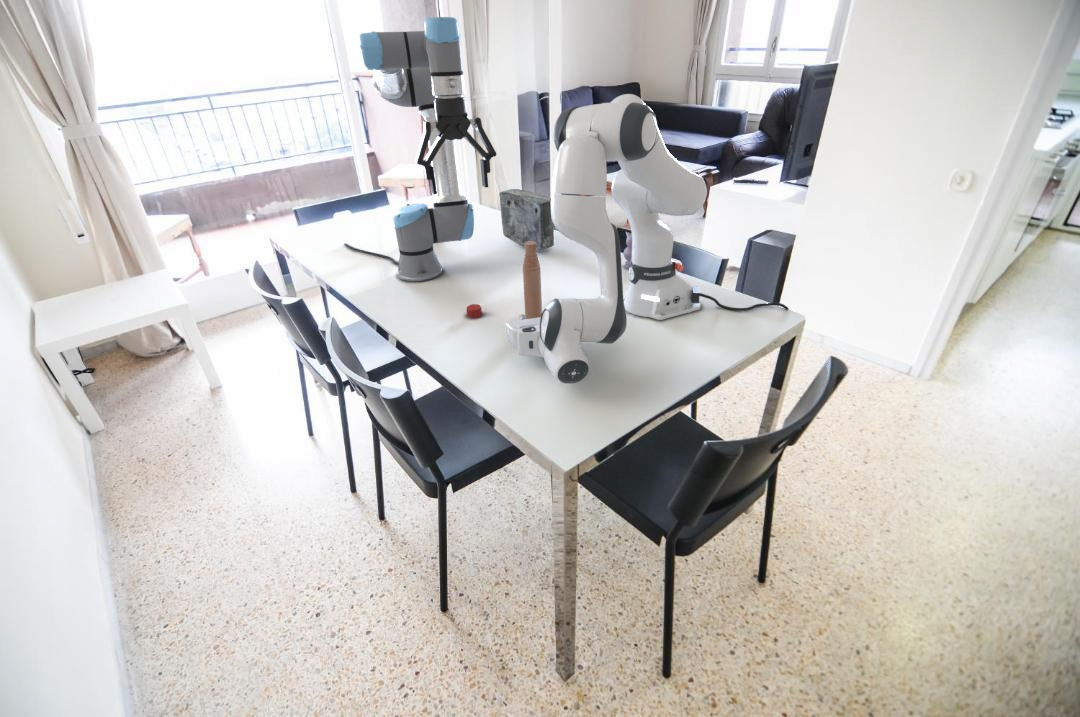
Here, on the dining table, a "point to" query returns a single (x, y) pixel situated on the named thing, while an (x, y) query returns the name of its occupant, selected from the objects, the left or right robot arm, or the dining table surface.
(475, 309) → the cap
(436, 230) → the left robot arm
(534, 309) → the bottle
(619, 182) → the right robot arm
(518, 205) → the concrete block
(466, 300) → the dining table surface
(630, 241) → the cat figurine
